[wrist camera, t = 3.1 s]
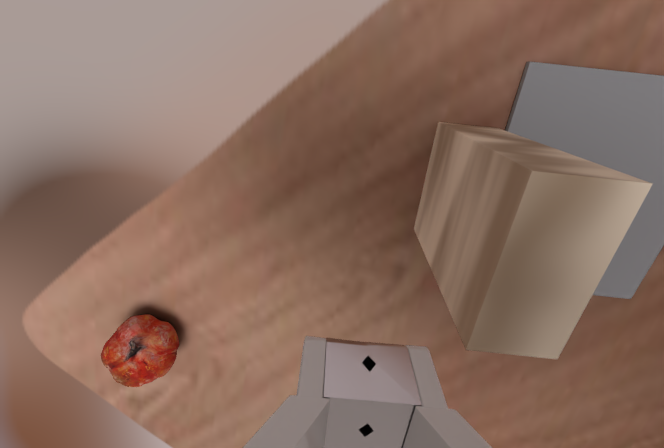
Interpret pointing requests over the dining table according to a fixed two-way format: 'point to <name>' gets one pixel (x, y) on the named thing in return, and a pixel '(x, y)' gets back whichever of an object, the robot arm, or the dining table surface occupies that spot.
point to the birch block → (519, 235)
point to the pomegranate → (140, 350)
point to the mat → (603, 145)
